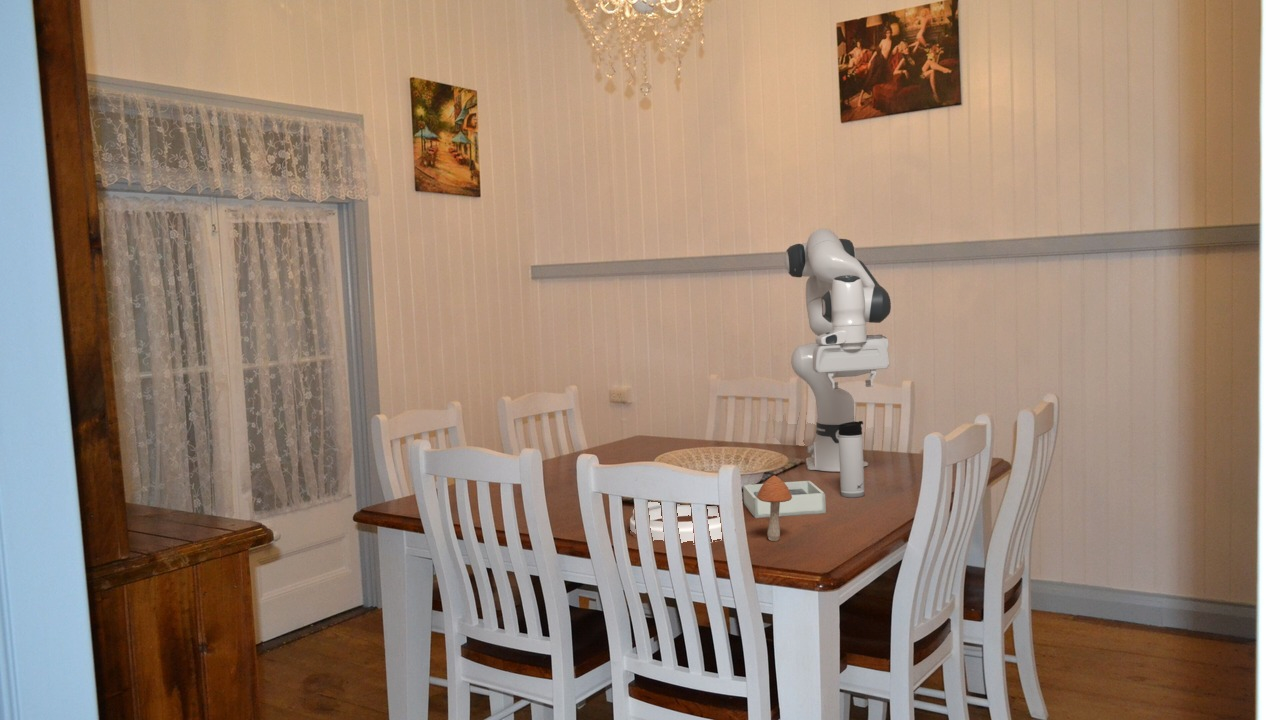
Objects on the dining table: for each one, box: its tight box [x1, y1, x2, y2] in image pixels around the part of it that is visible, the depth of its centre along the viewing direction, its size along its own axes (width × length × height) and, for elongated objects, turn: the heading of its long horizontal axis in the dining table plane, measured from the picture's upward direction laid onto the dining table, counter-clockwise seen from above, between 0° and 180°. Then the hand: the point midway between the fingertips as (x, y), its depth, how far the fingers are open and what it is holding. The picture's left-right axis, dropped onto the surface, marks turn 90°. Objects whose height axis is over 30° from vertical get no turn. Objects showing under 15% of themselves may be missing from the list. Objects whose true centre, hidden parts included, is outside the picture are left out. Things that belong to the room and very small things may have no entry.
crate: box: [742, 480, 827, 519], centre depth 245 cm, size 16×18×5 cm
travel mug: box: [838, 420, 866, 499], centre depth 254 cm, size 6×7×20 cm
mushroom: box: [757, 474, 792, 542], centre depth 215 cm, size 8×8×15 cm
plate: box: [629, 501, 723, 543], centre depth 229 cm, size 27×27×6 cm
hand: (851, 387), depth 253 cm, fingers open, 8 cm apart
